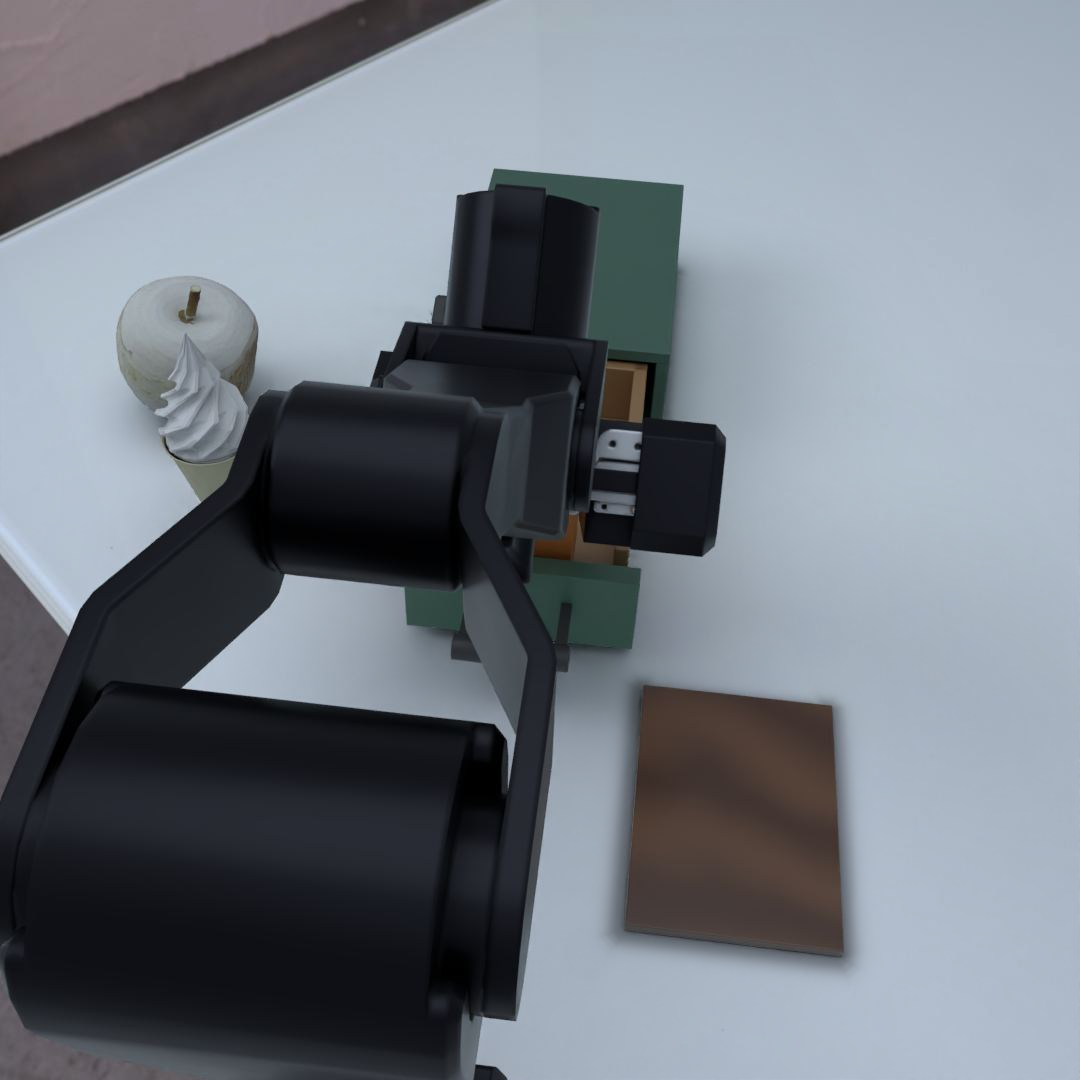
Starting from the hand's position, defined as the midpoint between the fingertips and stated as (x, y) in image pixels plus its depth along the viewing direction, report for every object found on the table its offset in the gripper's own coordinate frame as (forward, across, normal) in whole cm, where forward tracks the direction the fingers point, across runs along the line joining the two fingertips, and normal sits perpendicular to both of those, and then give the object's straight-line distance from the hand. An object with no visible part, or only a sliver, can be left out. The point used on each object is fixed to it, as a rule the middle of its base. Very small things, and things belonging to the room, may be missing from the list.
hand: (533, 479), depth 70 cm
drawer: (+6, 0, +4) cm, 7 cm away
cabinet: (+21, 0, -11) cm, 24 cm away
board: (-5, -12, +16) cm, 20 cm away
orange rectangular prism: (+2, 0, +4) cm, 5 cm away
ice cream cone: (+6, +18, +5) cm, 20 cm away
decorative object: (+14, +23, -3) cm, 27 cm away
